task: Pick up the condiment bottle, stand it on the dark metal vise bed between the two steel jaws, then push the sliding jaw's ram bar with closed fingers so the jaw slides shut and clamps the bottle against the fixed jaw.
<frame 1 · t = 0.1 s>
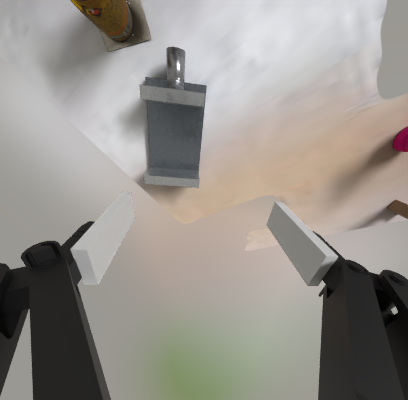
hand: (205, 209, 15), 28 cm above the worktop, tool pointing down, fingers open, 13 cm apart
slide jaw: (175, 78, 29), point 5 cm above the worktop, slide at 0.0 cm
vise bed: (175, 134, 37), on the worktop
pepper mill: (404, 138, 41), on the worktop
wooden block: (396, 206, 52), on the worktop
condiment: (121, 19, 28), on the worktop
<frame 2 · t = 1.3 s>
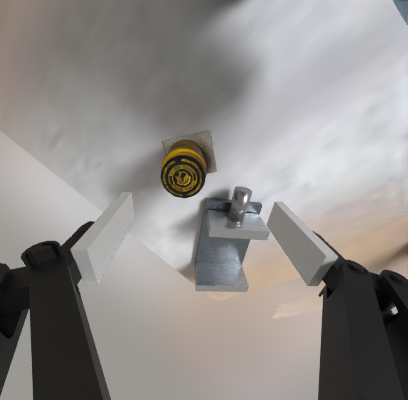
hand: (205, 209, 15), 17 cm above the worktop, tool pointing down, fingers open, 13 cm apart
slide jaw: (239, 211, 30), point 4 cm above the worktop, slide at 0.0 cm
vise bed: (224, 236, 38), on the worktop
condiment: (190, 156, 29), on the worktop
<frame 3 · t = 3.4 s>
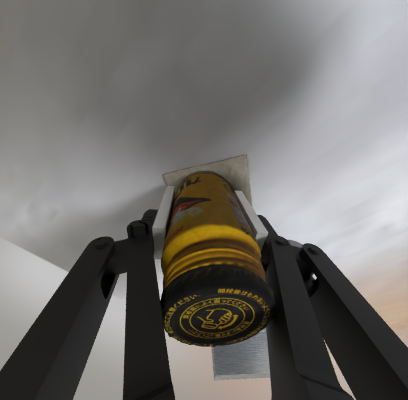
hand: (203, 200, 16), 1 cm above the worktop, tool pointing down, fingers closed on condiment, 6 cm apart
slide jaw: (287, 281, 18), point 5 cm above the worktop, slide at 0.0 cm
vise bed: (252, 294, 27), on the worktop
condiment: (211, 195, 18), on the worktop, touching gripper
when the fingers open (4 cm above the worktop, at t = 8.7 s): condiment drops 1 cm, resting on vise bed.
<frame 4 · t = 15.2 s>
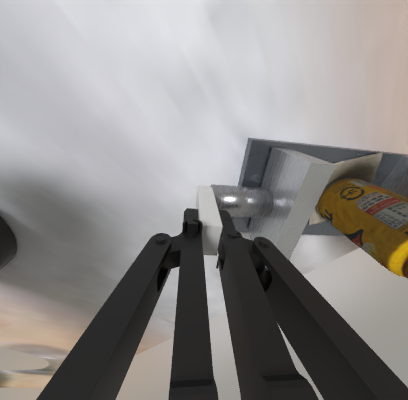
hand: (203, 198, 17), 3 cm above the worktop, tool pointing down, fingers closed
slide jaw: (250, 206, 16), point 4 cm above the worktop, slide at 0.2 cm, touching gripper
vise bed: (309, 193, 21), on the worktop
condiment: (338, 191, 20), point 1 cm above the worktop, touching vise bed
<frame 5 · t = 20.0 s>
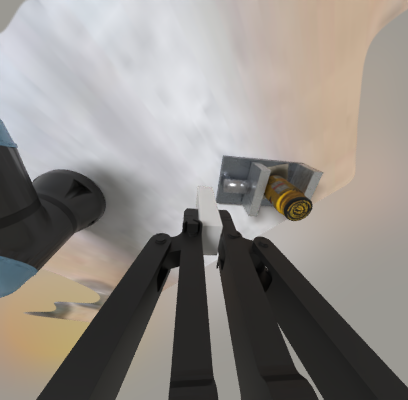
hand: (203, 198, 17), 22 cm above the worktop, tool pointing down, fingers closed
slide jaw: (241, 188, 36), point 5 cm above the worktop, slide at 4.6 cm
vise bed: (257, 182, 41), on the worktop
condiment: (271, 181, 40), point 1 cm above the worktop, touching vise bed
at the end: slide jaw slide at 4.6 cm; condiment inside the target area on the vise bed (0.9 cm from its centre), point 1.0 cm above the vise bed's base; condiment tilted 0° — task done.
